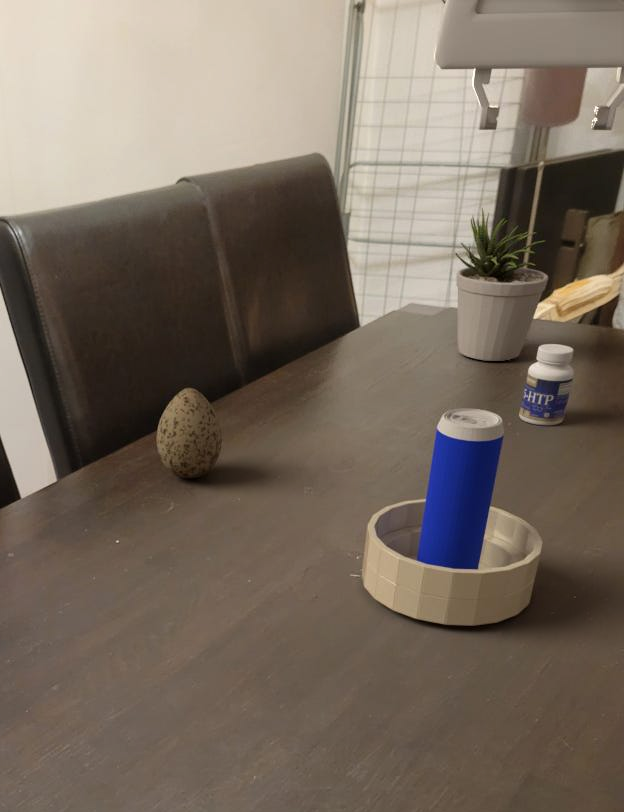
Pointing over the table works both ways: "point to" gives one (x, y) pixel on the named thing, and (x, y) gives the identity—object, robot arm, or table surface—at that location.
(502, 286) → the potted plant
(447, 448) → the beverage can
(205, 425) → the decorative egg
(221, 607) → the table surface
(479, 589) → the bowl
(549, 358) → the pill bottle
